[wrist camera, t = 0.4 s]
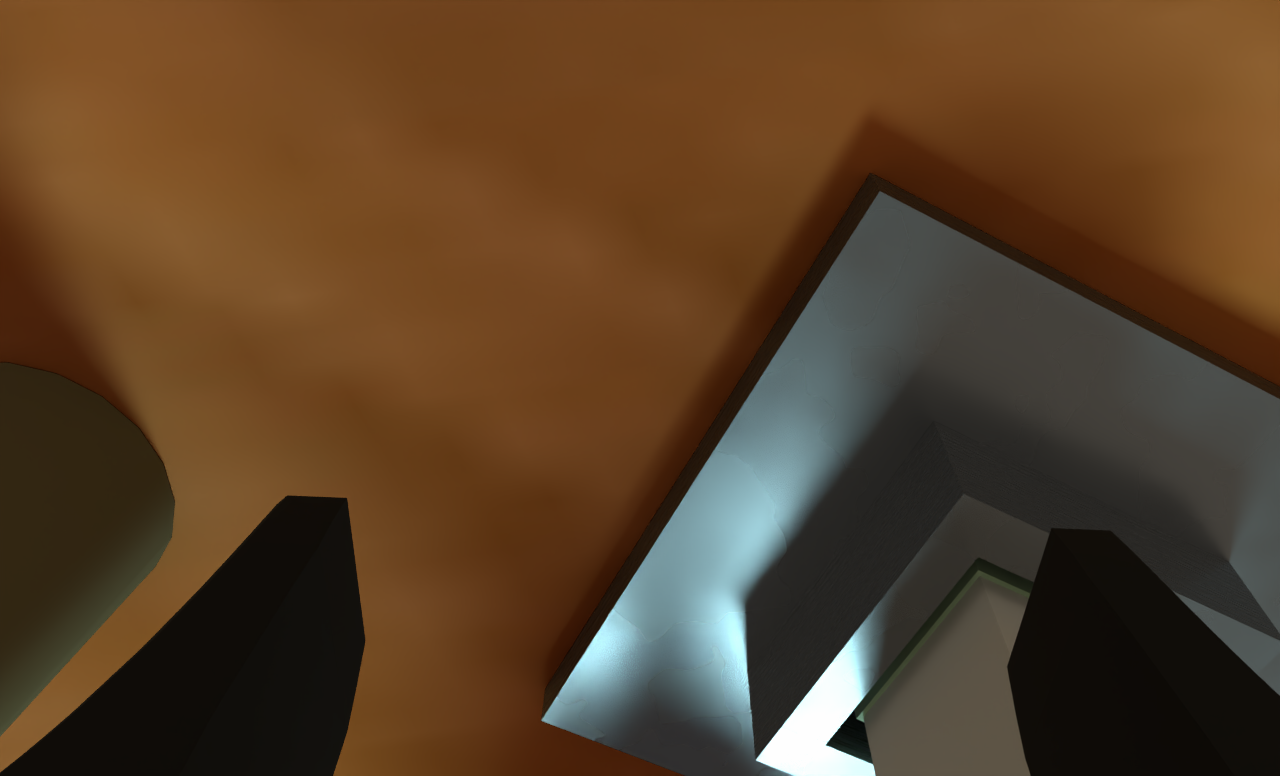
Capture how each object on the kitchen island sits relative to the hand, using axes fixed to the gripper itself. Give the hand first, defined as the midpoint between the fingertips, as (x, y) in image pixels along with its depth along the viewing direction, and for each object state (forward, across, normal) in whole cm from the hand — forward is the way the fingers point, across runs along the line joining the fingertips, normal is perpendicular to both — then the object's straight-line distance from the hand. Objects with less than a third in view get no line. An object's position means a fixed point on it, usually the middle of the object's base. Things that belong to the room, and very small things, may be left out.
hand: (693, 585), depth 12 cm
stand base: (+10, -7, +9) cm, 15 cm away
